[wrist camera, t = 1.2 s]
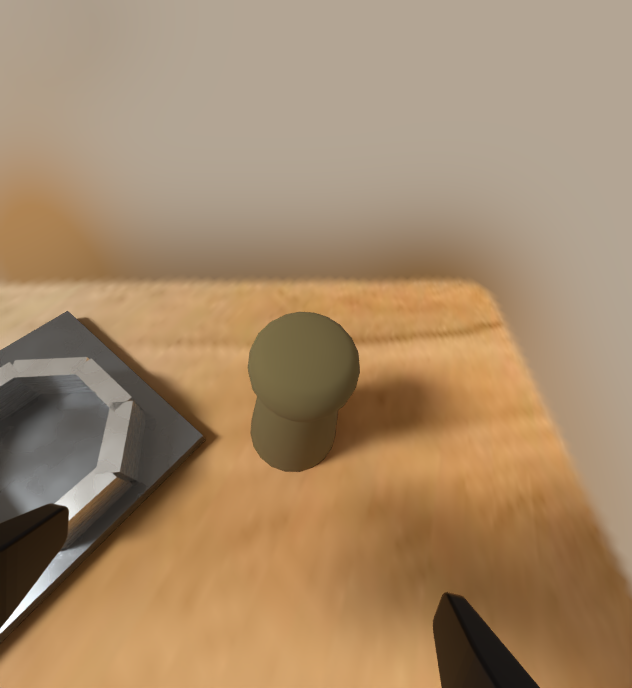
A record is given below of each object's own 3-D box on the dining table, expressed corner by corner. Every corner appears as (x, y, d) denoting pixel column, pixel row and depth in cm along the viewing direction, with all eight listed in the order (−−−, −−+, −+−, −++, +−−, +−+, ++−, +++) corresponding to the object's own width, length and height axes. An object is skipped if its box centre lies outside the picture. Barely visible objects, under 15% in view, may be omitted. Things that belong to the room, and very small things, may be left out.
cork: (291, 492, 21) (307, 447, 11) (232, 425, 22) (204, 340, 13) (352, 428, 23) (404, 350, 14) (295, 373, 25) (307, 272, 16)
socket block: (205, 439, 22) (195, 422, 19) (-53, 696, 15) (-136, 733, 12) (74, 318, 26) (48, 288, 23) (-182, 473, 18) (-268, 459, 15)
